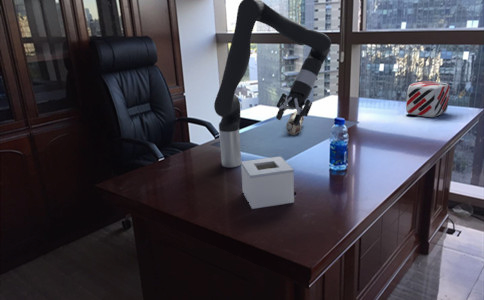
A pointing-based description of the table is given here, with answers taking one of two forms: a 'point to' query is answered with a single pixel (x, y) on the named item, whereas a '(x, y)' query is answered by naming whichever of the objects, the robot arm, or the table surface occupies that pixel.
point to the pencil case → (293, 128)
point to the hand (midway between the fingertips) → (286, 121)
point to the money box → (267, 182)
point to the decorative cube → (427, 98)
